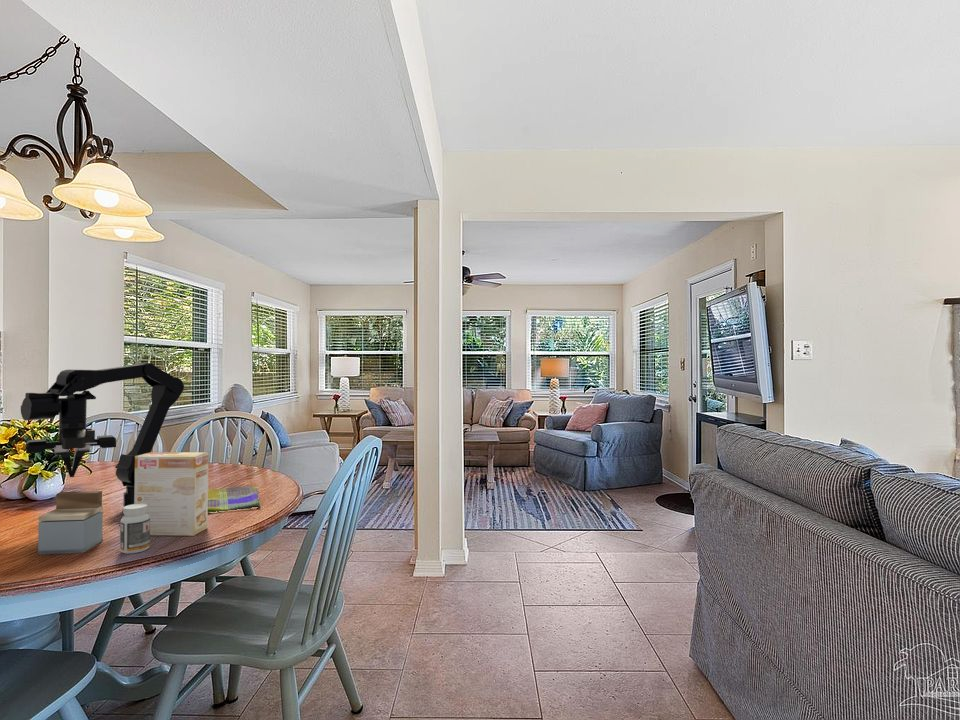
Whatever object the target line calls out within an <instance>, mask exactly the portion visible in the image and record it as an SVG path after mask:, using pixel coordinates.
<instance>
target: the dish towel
mask: <svg viewBox="0 0 960 720" xmlns="http://www.w3.org/2000/svg"><path fill="white" fill-rule="evenodd" d="M258 493H259V494H260V491H259V489H258V488H257V486H254V485H252V484H251V485H245V486H232V487H225V488H210V489H209V488H208V513H210V512H216V511H217V512H219V511H228V510H237V509H251V508H252V507H258V506H259V507H260V506H261V502H260V498H259V499H258ZM213 507H218V508H213ZM259 507H258V508H259Z"/></svg>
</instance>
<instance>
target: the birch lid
mask: <svg viewBox="0 0 960 720" xmlns="http://www.w3.org/2000/svg"><path fill="white" fill-rule="evenodd" d="M55 501H56V502H55V504H56V505H55V509H53V510H50V511H48V512H46V513H43V514H41V515H38V522H41V521H58V520H84V519H86V518H88V517H90V516H92V515H94V514H96V513H98V512H100V511H103V510H104V505H103V491H102V490H91V491H90V490H89V491H84V490H83V491H60V492H58V493H56V499H55Z"/></svg>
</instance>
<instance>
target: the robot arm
mask: <svg viewBox="0 0 960 720" xmlns="http://www.w3.org/2000/svg"><path fill="white" fill-rule="evenodd" d="M138 378H142V380H143V381H144V382H145V383H146V384H147V385H149V386H150V387H151V388H152V389H151V392H150V395H151V396H150V397H151V405H150V407H149V409H148V411H147V414H146V416H145V419H144V421H143V423H142V426H141V428H140V430H139V432H138V435H137V438H136V440H135V442H134V444H133V447H132V449H131V450H130V452H129V451H128V453H127V454H125V453H122V454H120V456H119V460H118V463H117V464H116V465H115V466H114V469H116V470H115V476H116V477H117V479H118V480H119V481H120V482H121V484H122V486H123V487H125V492H123V503H122V504H123V505H122V507H125V506H127V505H132V504H134V488H135V456H138V455H142V454H145V453H150V452H152V451H153V449H154V446H155V444H156V441H157V439H158V436H159V434H160V431H161V429H162V426H163V424H164V421H165V419H166V416H167V415H168V412H169V410H170V408H171V407H172V406H173V405H174V404H175V403H176V402H177V401H178V400H179V398H180V397H181V395H182V394H183V392H184V390H185V383H183V380H182V379H181V378H179V377H176V376H173V375H171V374H170V373H168V372H166V371H164V370H162V369H161V368H159V367H158V366H156V365H155V364H154V363H151V362H141V363H137V364H130V365H124V366H117V367H109V368H103V369H64V370H61V371H60V372H59V373H58V374H57V376H56V379H55V382H54V383H53V384H52V385H51V387H49V389H47V390H46V392H26V393H25V396H24V397H25V398H24V399H23V400H22V403H21V405H20V414H21V417H22V419H23V420H24V421H38V420H40V421H41V420H52V419H55V418H56V416H58V417H59V418H58V440H57V441H47V439H46V438H43V439H42V438H41V439H29V440H28V441H27V442H26V443H25V454H41V453H43V452H45V450H54V455H55V456H58V455H59V456H60V458H61V459H62V461H63V463H64V464H65V467H66V469H67V473H68V476H69V478H74V477H75V474H76V472H77V470H78V467H79V464H80V463H81V460H82V459H83V457H84V456H85V454H86V453H87V454H88V453H90V452H91V449H90V448H91V447H95V446H96V447H97V446H98V447H100V448H102V449H111V448H117V438H116V437H115V436H113V435H112V434H110V435H109V434H108V435H107V434H106V435H97V436H96V429H95V427H92V428H91V427H90V428H87V402H88V400H96V399H97V396H95V395H94V394H93V393H91V391H90V390H91V389H94V388H96V387H98V386H100V385H103V384H106V383H113V382H119V381H126V380H132V379H138ZM70 449H74V452H73V453H74V454H73V459H72V460H73V461H71V457H70V455H71V454H70Z"/></svg>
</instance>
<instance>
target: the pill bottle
mask: <svg viewBox="0 0 960 720" xmlns="http://www.w3.org/2000/svg"><path fill="white" fill-rule="evenodd" d="M122 507H123V506H122ZM147 510H148V506H147V504H132V505H127V506H125V507H123V508H122V513H123V514H124V515H123V516H122V518H121V519H120V527H119V531H120V532H119V534H120V535H119V536H120V539H119V541H120V543H119V544H120V546H119V550H120V552H121V553H123V554H126V555H127V554H128V555H129V554H137V553H142V552H144V551H147V550H149V548H150V546H151V535H150V516H149V515H148V514H147V513H146V511H147Z"/></svg>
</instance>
